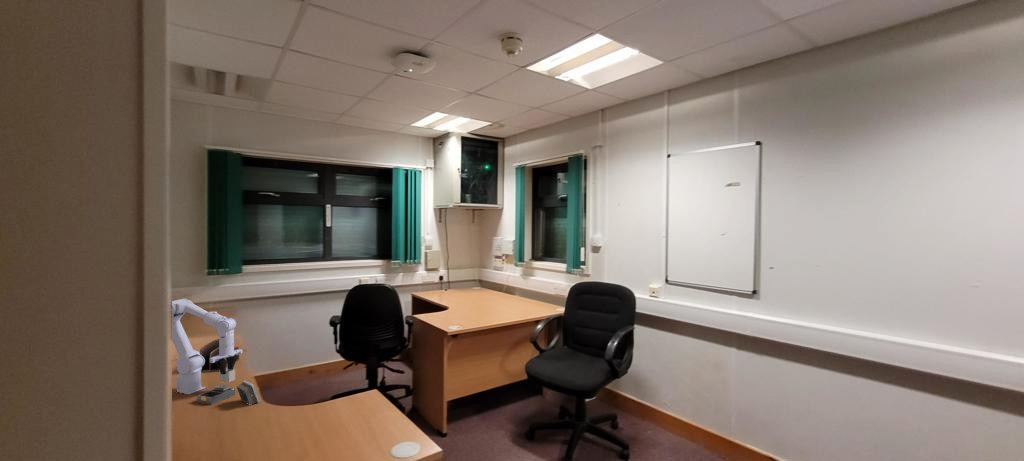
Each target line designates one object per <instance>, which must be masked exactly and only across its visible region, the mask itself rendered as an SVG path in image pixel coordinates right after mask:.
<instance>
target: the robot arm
mask: <svg viewBox="0 0 1024 461" xmlns="http://www.w3.org/2000/svg"><path fill="white" fill-rule="evenodd" d="M186 313H189V314H190V315H193V316H195V317H198V318H200V319H202V320H203V323H205V324H206V325H209V326H211V327H213V328H215V329H216V331H217V333H218V336H219V338H218V339H219V355H216V356H214V357H212V358H210V362H211V363H214V362H215V363H216V364H217V366H218V367H219V370H220V372H219V374H220V373H221V374H223V375H224V374H225V373H226V368H229V369H235V368H234V367H235V364H236V362H238V361H237V359H238V356H236V355H237V354H239V355H241V354H243V349H241V348H239V349H238V350H234V348H235V329H236V328H237V325H238V322H237V320H236V319H235V318H233V317H227V316H223V315H221V314H219V313H218V312H217V311H216V310H215V311H207V310H205V309H203V308H201V307H200V306H199V305H196V304H195V303H193V301H192V300H189V299H188V298H186V297H185V298H179V299H175V300H172V339H171V342H172V343H173V345H174V348H175V350H176V352H177V354H178V358H177V359H175V362H176V369H177V372H178V374H177V375H176V390H178V391H179V392H180V393H179V394H182V393H184V395H191V394H194V393H196V392H199V391H201V390H204V389H206V386H203V385H202V372H201V369H202V366H203V365H204V364H205V359H204V357H203V356H201V355H200V351H198V350H195V349H194V348H193V346H192V344H191V341H190V339H189V337H188V335H187V333H186V331H185V329H184V327H183V325H182V322H181V319H182V317H183V316H184V315H185V314H186ZM225 358H226V359H227V360H225ZM226 364H228V367H226Z"/></svg>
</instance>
